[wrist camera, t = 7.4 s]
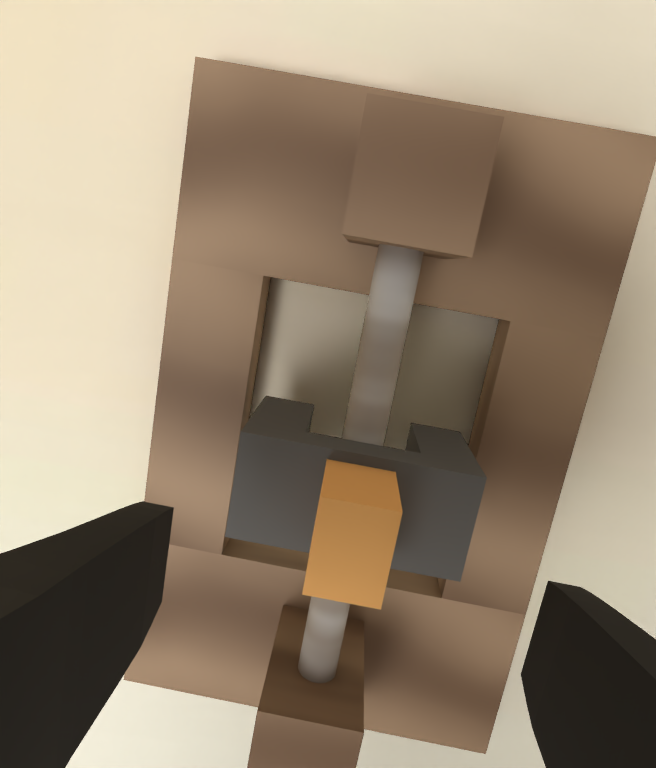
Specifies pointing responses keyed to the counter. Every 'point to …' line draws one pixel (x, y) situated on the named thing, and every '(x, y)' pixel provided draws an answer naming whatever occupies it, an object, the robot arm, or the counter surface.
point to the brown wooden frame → (375, 385)
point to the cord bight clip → (354, 502)
